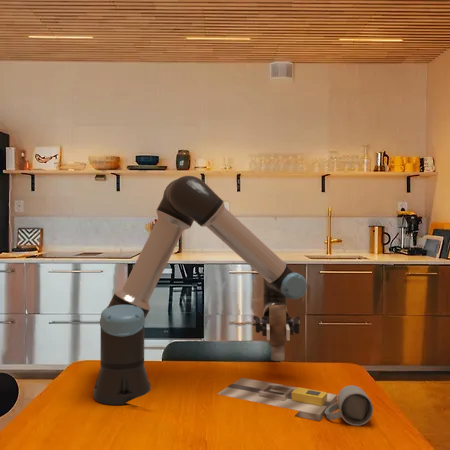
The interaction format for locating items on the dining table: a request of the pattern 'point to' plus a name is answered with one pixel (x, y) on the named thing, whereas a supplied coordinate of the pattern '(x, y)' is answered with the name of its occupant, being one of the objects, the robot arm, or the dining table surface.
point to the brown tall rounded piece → (277, 331)
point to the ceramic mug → (351, 406)
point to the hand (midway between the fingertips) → (278, 335)
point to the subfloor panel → (276, 397)
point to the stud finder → (309, 396)
